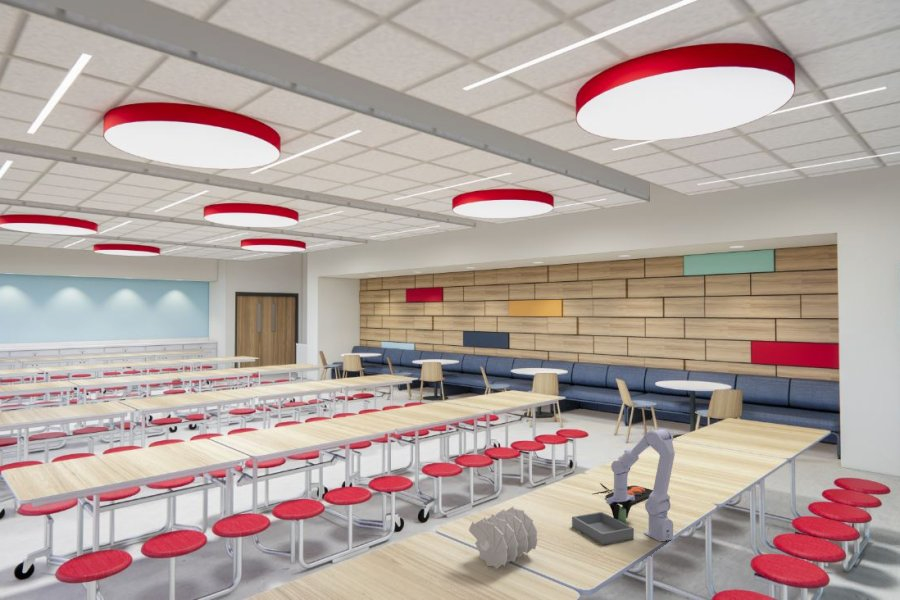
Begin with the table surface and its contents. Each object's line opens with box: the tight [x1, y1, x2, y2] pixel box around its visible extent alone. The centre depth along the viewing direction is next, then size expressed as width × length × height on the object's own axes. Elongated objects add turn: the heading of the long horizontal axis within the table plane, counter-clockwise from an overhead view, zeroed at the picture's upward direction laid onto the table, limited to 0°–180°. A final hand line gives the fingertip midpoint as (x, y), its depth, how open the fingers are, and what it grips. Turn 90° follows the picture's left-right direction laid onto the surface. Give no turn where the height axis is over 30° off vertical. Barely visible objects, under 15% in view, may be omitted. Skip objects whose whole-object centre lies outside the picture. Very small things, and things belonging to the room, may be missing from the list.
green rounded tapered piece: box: [618, 505, 627, 524], centre depth 239 cm, size 5×5×6 cm
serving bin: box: [571, 511, 635, 546], centre depth 226 cm, size 20×16×4 cm
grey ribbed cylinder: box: [468, 506, 539, 570], centre depth 201 cm, size 18×18×25 cm
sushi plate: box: [592, 482, 653, 504], centre depth 279 cm, size 29×30×4 cm
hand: (620, 518), depth 239 cm, fingers closed on green rounded tapered piece, 5 cm apart
